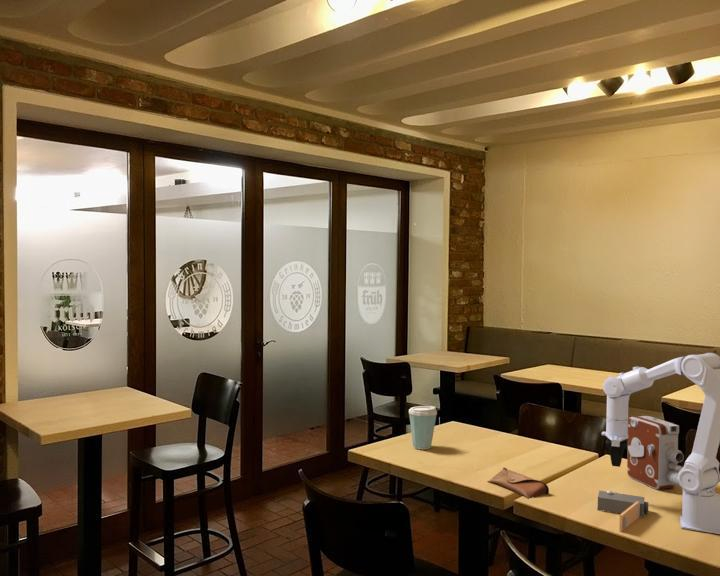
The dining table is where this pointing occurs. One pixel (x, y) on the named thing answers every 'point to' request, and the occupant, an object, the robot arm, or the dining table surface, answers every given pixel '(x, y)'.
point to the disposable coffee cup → (422, 425)
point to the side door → (629, 515)
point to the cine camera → (653, 452)
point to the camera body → (620, 502)
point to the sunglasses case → (519, 483)
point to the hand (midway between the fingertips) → (616, 465)
